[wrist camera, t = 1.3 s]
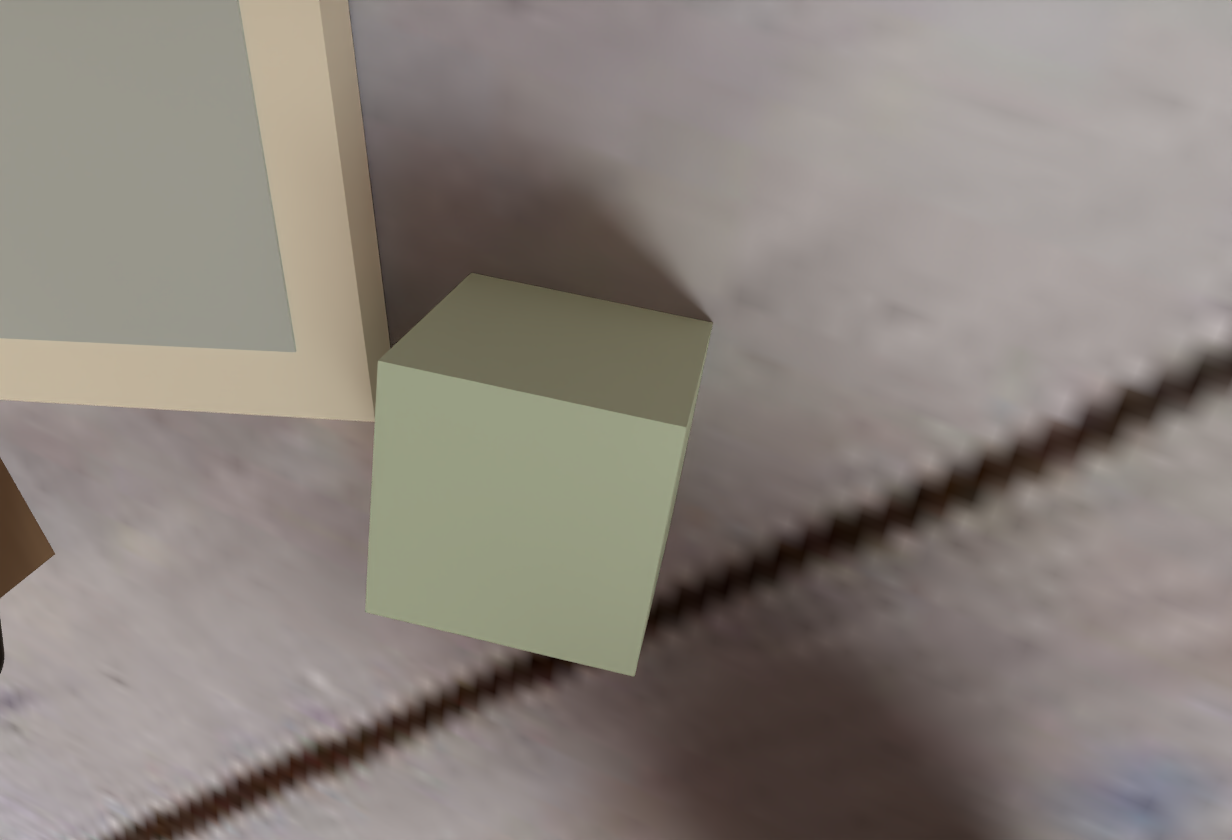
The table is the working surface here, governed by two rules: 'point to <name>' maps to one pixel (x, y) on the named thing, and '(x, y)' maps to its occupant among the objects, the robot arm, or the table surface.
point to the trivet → (187, 208)
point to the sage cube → (531, 468)
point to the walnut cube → (18, 536)
